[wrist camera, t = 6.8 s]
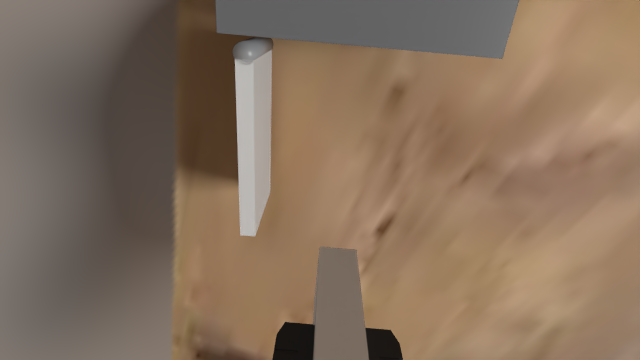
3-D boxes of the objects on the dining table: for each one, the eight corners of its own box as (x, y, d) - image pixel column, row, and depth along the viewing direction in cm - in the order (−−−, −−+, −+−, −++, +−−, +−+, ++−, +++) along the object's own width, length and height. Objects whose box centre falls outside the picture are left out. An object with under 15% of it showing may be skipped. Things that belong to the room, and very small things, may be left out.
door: (252, 190, 30) (232, 234, 24) (250, 33, 24) (224, 40, 18) (271, 191, 30) (256, 236, 24) (273, 35, 24) (255, 42, 18)
